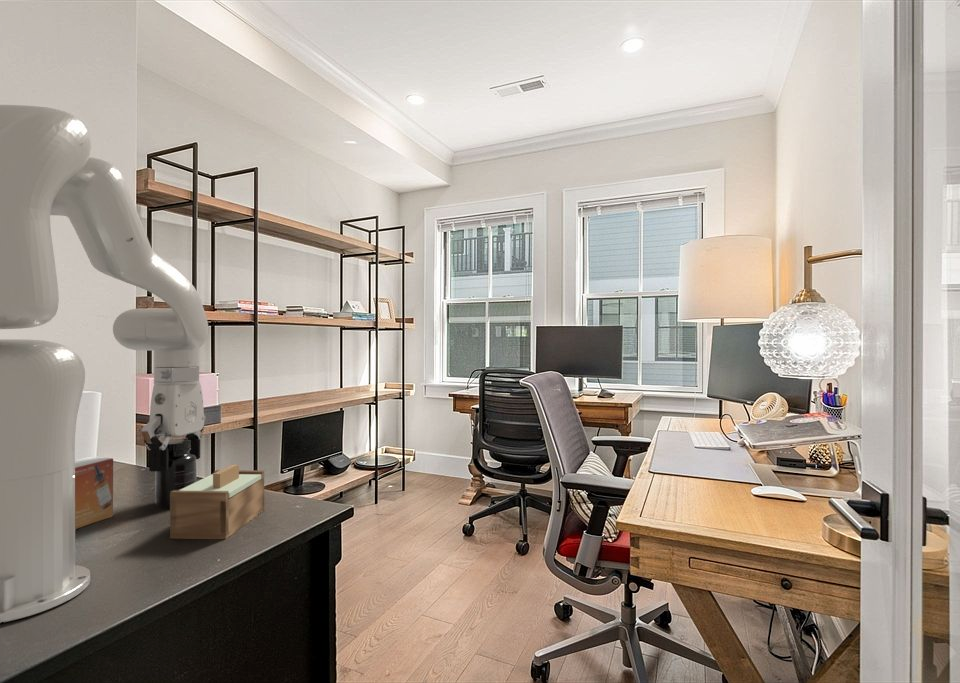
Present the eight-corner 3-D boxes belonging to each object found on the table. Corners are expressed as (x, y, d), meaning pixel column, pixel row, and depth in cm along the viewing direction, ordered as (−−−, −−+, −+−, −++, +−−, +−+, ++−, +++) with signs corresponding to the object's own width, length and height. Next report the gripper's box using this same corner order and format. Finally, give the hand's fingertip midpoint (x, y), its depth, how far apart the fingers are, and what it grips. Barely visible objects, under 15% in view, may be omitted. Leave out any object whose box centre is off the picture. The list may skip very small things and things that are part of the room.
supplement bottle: (147, 505, 93) (147, 442, 93) (183, 495, 99) (183, 436, 99) (168, 511, 90) (168, 446, 90) (204, 500, 96) (204, 439, 96)
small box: (68, 533, 80) (68, 469, 80) (41, 530, 81) (41, 467, 81) (114, 515, 88) (114, 457, 88) (89, 513, 89) (89, 455, 89)
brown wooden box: (225, 539, 77) (225, 492, 77) (170, 538, 78) (170, 492, 78) (264, 510, 90) (264, 470, 90) (216, 509, 91) (216, 470, 91)
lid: (229, 497, 78) (229, 478, 78) (174, 497, 79) (174, 477, 79) (261, 478, 89) (261, 461, 89) (213, 478, 90) (212, 460, 89)
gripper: (166, 379, 86) (165, 476, 86) (220, 374, 103) (220, 455, 103) (124, 379, 86) (123, 476, 86) (186, 374, 103) (185, 454, 103)
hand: (176, 464), depth 94 cm, fingers open, 9 cm apart
